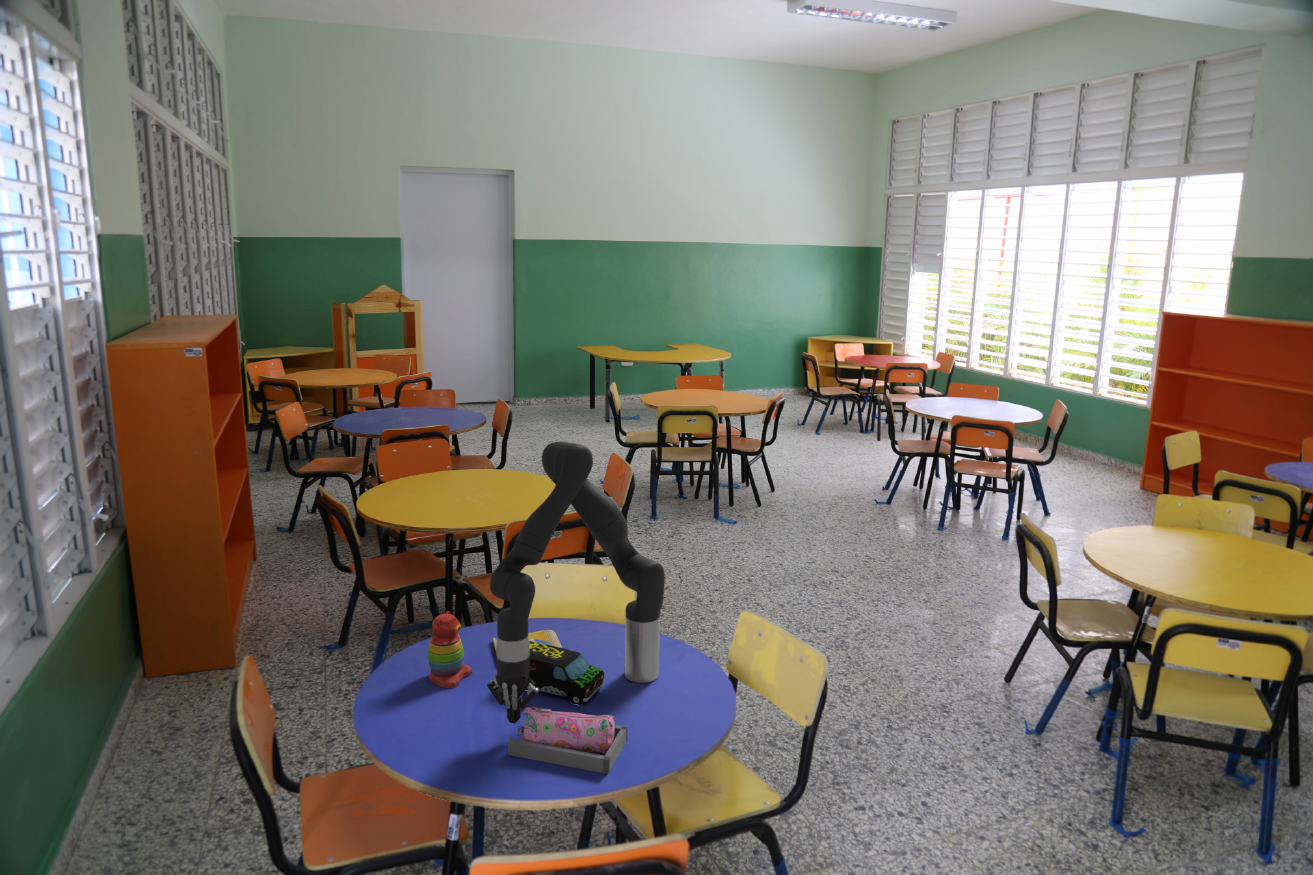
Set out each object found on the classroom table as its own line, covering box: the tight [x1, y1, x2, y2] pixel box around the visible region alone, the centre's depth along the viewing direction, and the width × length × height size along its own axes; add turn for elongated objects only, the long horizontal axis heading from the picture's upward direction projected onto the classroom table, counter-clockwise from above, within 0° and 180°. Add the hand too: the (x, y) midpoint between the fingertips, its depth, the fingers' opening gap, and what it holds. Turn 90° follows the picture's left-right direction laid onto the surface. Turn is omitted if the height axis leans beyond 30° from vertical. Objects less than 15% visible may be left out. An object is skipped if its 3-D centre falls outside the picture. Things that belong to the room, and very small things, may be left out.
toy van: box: [526, 641, 605, 707], centre depth 221 cm, size 11×25×10 cm, turn 65°
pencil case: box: [516, 706, 616, 756], centre depth 195 cm, size 21×9×9 cm, turn 79°
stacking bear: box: [427, 610, 473, 689], centre depth 225 cm, size 11×10×18 cm
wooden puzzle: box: [492, 629, 563, 651], centre depth 243 cm, size 18×19×4 cm
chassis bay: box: [507, 724, 628, 775], centre depth 196 cm, size 14×24×4 cm, turn 74°
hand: (513, 721), depth 199 cm, fingers closed
